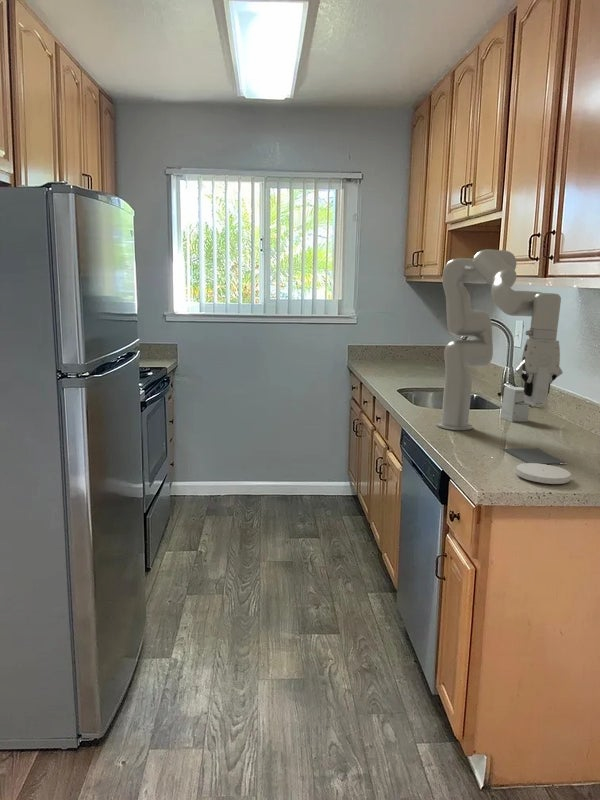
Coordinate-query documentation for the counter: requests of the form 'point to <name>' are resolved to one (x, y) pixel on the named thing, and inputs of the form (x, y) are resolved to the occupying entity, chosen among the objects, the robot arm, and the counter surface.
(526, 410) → the supplement box
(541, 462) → the mat
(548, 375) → the skincare box
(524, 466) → the plastic lid
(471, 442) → the counter surface
